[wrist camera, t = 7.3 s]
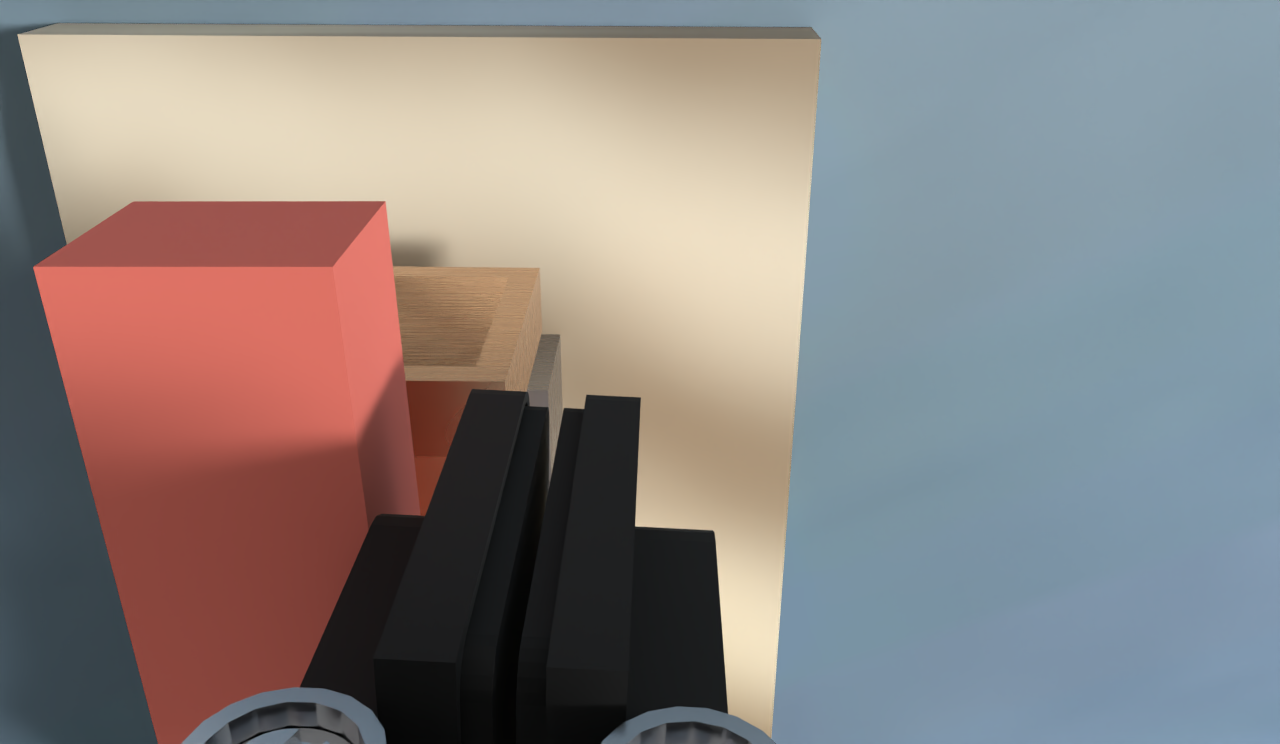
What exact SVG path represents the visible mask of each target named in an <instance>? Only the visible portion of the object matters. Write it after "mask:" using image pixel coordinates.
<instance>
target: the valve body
mask: <svg viewBox="0 0 1280 744" xmlns="http://www.w3.org/2000/svg"><path fill="white" fill-rule="evenodd" d="M393 273H394V281H395V290H396V299H397V308H398V317H399V326H400V335H401V344H402V353H403V362H404V371H405V380H406V389H407V398H408V407H409V416H410V425H411V434H412V443H413V452H414V461H415V470H416V479H417V488H418V497H419V506H420V515H421V516H425V515H426V512H427V509H428V507H429V504H430V501H431V498H432V496H433V493H434V490H435V487H436V485H437V482H438V479H439V476H440V474H441V471H442V468H443V465H444V463H445V460H446V457H447V454H448V452H449V449H450V446H451V443H452V441H453V438H454V435H455V432H456V430H457V427H458V424H459V421H460V419H461V416H462V413H463V410H464V408H465V405H466V402H467V399H468V397H469V394H470V392H471V390H472V389H484V390H503V391H523V392H528V394H529V402H530V406H536V407H549V485H550V480H551V474H552V469H553V464H554V458H555V453H556V447H557V442H558V436H559V431H560V425H561V420H562V415H563V403H562V371H561V340H560V334H541V333H542V312H541V287H540V268H511V267H408V266H393Z"/></svg>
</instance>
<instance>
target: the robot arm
mask: <svg viewBox="0 0 1280 744" xmlns="http://www.w3.org/2000/svg"><path fill="white" fill-rule="evenodd" d="M640 407H641V397H623V396H603V395H586V400H585V406H584V409H576V408H564V410H563V415H562V420H561V425H560V431H559V436H558V442H557V447H556V453H555V458H554V464H553V469H552V474H551V480H550V485H549V407H536V406H530V402H529V394H528V392H523V391H503V390H484V389H472V390H471V392H470V394H469V397H468V399H467V402H466V405H465V408H464V410H463V413H462V416H461V419H460V421H459V424H458V427H457V430H456V432H455V435H454V438H453V441H452V443H451V446H450V449H449V452H448V454H447V457H446V460H445V463H444V465H443V468H442V471H441V474H440V476H439V479H438V482H437V485H436V487H435V490H434V493H433V496H432V498H431V501H430V504H429V507H428V509H427V512H426V515H425V516H419V515H400V514H379V515H377V516H376V517H375V519H374V521H373V522H372V524H371V526H370V528H369V530H368V533H367V535H366V537H365V539H364V542H363V544H362V546H361V549H360V551H359V553H358V555H357V558H356V560H355V562H354V565H353V567H352V569H351V571H350V574H349V576H348V578H347V580H346V583H345V585H344V587H343V590H342V592H341V594H340V596H339V599H338V601H337V603H336V605H335V608H334V610H333V612H332V615H331V617H330V619H329V621H328V624H327V626H326V628H325V630H324V633H323V635H322V637H321V640H320V642H319V644H318V646H317V649H316V651H315V653H314V655H313V658H312V660H311V662H310V665H309V667H308V669H307V671H306V674H305V676H304V678H303V681H302V683H301V685H300V687H292V688H286V689H280V690H274V691H268V692H262V693H259V694H257V695H254V696H251V697H248V698H246V699H243V700H240V701H238V702H235V703H232V704H230V705H229V706H227V707H225V708H224V709H222V710H220V711H219V712H217V713H216V714H214V715H212V716H211V717H209V718H208V719H206V720H204V721H203V722H202V723H201V724H200V725H199V726H198V727H197V728H196V729H195V730H194V731H193V732H192V733H191V734H190V735H189V736H188V737H187V738H186V739H185V740H184V741H183V742H182V743H181V744H776V743H775V742H774V741H773V740H772V739H771V738H770V737H769V736H768V735H767V734H766V733H765V732H764V731H762V730H760V729H759V728H757V727H755V726H753V725H751V724H750V723H748V722H746V721H744V720H742V719H741V718H739V717H737V716H734V715H730V714H728V704H727V690H726V676H725V663H724V649H723V635H722V621H721V608H720V594H719V580H718V566H717V553H716V540H715V533H714V531H713V530H696V529H677V528H657V527H637V526H635V517H636V495H637V473H638V451H639V429H640Z"/></svg>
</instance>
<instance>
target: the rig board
mask: <svg viewBox="0 0 1280 744" xmlns="http://www.w3.org/2000/svg"><path fill="white" fill-rule="evenodd" d="M17 35H18V39H19V43H20V48H21V52H22V56H23V60H24V65H25V69H26V73H27V77H28V82H29V86H30V90H31V94H32V99H33V103H34V107H35V111H36V116H37V120H38V124H39V128H40V133H41V137H42V141H43V145H44V150H45V154H46V158H47V162H48V167H49V171H50V175H51V179H52V184H53V188H54V192H55V196H56V201H57V205H58V209H59V213H60V218H61V222H62V226H63V230H64V235H65V239H66V243H67V244H69V243H70V242H72V241H73V240H75V239H76V238H78V237H79V236H81V235H82V234H84V233H86V232H87V231H89V230H90V229H92V228H93V227H95V226H96V225H98V224H99V223H101V222H102V221H104V220H105V219H107V218H108V217H110V216H112V215H113V214H115V213H116V212H118V211H119V210H121V209H122V208H124V207H125V206H127V205H128V204H130V203H131V202H133V201H386V210H387V219H388V228H389V237H390V246H391V255H392V264H393V266H408V267H511V268H540V287H541V312H542V333H541V334H560V340H561V371H562V403H563V410H564V408H576V409H584V406H585V400H586V395H603V396H623V397H641V407H640V429H639V451H638V473H637V495H636V517H635V526H637V527H657V528H677V529H696V530H713V531H714V533H715V540H716V553H717V566H718V580H719V594H720V608H721V621H722V635H723V649H724V663H725V676H726V690H727V704H728V714H730V715H734V716H737V717H739V718H741V719H742V720H744V721H746V722H748V723H750V724H751V725H753V726H755V727H757V728H759V729H760V730H762V731H764V732H765V733H766V734H767V735H768V736H769V737H770V738H771V734H772V720H773V706H774V692H775V678H776V664H777V650H778V636H779V622H780V608H781V594H782V580H783V567H784V553H785V539H786V525H787V511H788V497H789V483H790V469H791V455H792V441H793V427H794V413H795V399H796V385H797V371H798V357H799V343H800V329H801V316H802V302H803V288H804V274H805V260H806V246H807V232H808V218H809V204H810V190H811V176H812V162H813V148H814V134H815V120H816V106H817V92H818V79H819V65H820V51H821V38H820V37H819V36H818V35H817V33H816V32H815V31H814V30H813V29H812V27H645V26H467V25H290V24H112V23H57V24H53V25H50V26H46V27H42V28H39V29H35V30H32V31H28V32H24V33H21V34H17Z"/></svg>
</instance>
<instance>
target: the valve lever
mask: <svg viewBox="0 0 1280 744" xmlns="http://www.w3.org/2000/svg"><path fill="white" fill-rule="evenodd" d="M33 268H34V272H35V276H36V280H37V284H38V287H39V291H40V295H41V299H42V303H43V307H44V310H45V314H46V318H47V322H48V326H49V329H50V333H51V337H52V341H53V345H54V349H55V352H56V356H57V360H58V364H59V368H60V371H61V375H62V379H63V383H64V387H65V391H66V394H67V398H68V402H69V406H70V410H71V413H72V417H73V421H74V425H75V429H76V433H77V436H78V440H79V444H80V448H81V452H82V455H83V459H84V463H85V467H86V471H87V474H88V478H89V482H90V486H91V490H92V494H93V497H94V501H95V505H96V509H97V513H98V516H99V520H100V524H101V528H102V532H103V536H104V539H105V543H106V547H107V551H108V555H109V558H110V562H111V566H112V570H113V574H114V578H115V581H116V585H117V589H118V593H119V597H120V600H121V604H122V608H123V612H124V616H125V620H126V623H127V627H128V631H129V635H130V639H131V642H132V646H133V650H134V654H135V658H136V662H137V665H138V669H139V673H140V677H141V681H142V684H143V688H144V692H145V696H146V700H147V703H148V707H149V711H150V715H151V719H152V723H153V726H154V730H155V734H156V738H157V742H158V744H181V743H182V742H183V741H184V740H185V739H186V738H187V737H188V736H189V735H190V734H191V733H192V732H193V731H194V730H195V729H196V728H197V727H198V726H199V725H200V724H201V723H202V722H203V721H204V720H206V719H208V718H209V717H211V716H212V715H214V714H216V713H217V712H219V711H220V710H222V709H224V708H225V707H227V706H229V705H230V704H232V703H235V702H238V701H240V700H243V699H246V698H248V697H251V696H254V695H257V694H259V693H262V692H268V691H274V690H280V689H286V688H292V687H300V685H301V683H302V681H303V678H304V676H305V674H306V671H307V669H308V667H309V665H310V662H311V660H312V658H313V655H314V653H315V651H316V649H317V646H318V644H319V642H320V640H321V637H322V635H323V633H324V630H325V628H326V626H327V624H328V621H329V619H330V617H331V615H332V612H333V610H334V608H335V605H336V603H337V601H338V599H339V596H340V594H341V592H342V590H343V587H344V585H345V583H346V580H347V578H348V576H349V574H350V571H351V569H352V567H353V565H354V562H355V560H356V558H357V555H358V553H359V551H360V549H361V546H362V544H363V542H364V539H365V537H366V535H367V533H368V530H369V528H370V526H371V524H372V522H373V521H374V519H375V517H376V516H377V515H379V514H400V515H419V516H421V515H420V506H419V497H418V488H417V479H416V470H415V461H414V452H413V443H412V434H411V425H410V416H409V407H408V398H407V389H406V380H405V371H404V362H403V353H402V344H401V335H400V326H399V317H398V308H397V299H396V290H395V281H394V273H393V264H392V255H391V246H390V237H389V228H388V219H387V210H386V201H133V202H131V203H130V204H128V205H127V206H125V207H124V208H122V209H121V210H119V211H118V212H116V213H115V214H113V215H112V216H110V217H108V218H107V219H105V220H104V221H102V222H101V223H99V224H98V225H96V226H95V227H93V228H92V229H90V230H89V231H87V232H86V233H84V234H82V235H81V236H79V237H78V238H76V239H75V240H73V241H72V242H70V243H69V244H67V245H66V246H64V247H63V248H61V249H59V250H58V251H56V252H55V253H53V254H52V255H50V256H49V257H47V258H46V259H44V260H43V261H41V262H40V263H38V264H37V265H35V266H33Z"/></svg>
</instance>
